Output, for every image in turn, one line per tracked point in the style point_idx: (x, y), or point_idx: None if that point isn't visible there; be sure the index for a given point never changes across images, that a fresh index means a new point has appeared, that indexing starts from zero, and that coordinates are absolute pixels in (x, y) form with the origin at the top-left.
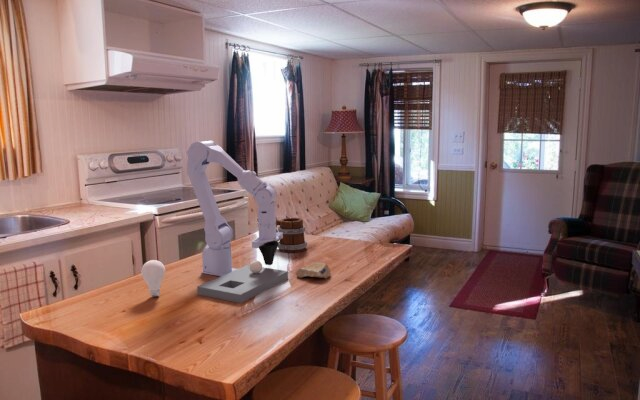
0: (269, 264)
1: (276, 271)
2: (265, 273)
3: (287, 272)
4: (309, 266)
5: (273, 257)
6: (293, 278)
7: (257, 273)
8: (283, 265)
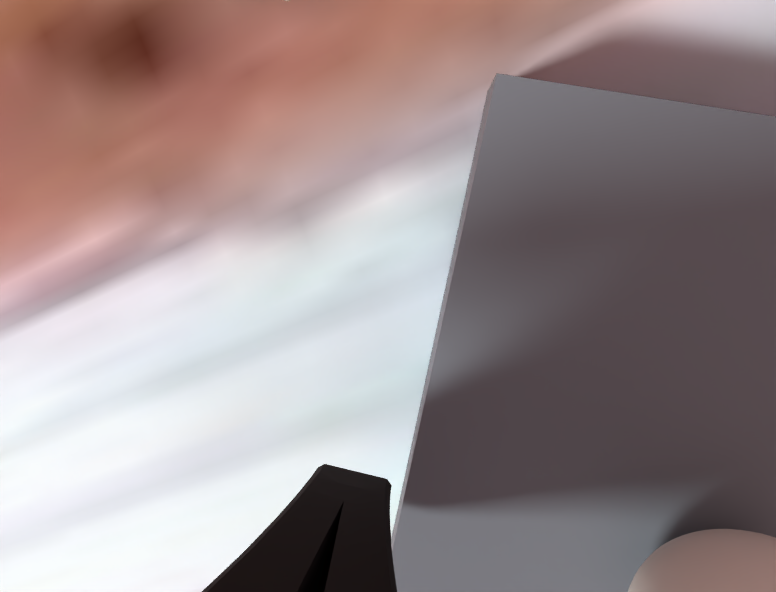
0: (389, 499)
1: (563, 287)
2: (714, 427)
3: (507, 78)
4: None
5: (274, 548)
6: (448, 6)
7: None
8: (21, 374)
